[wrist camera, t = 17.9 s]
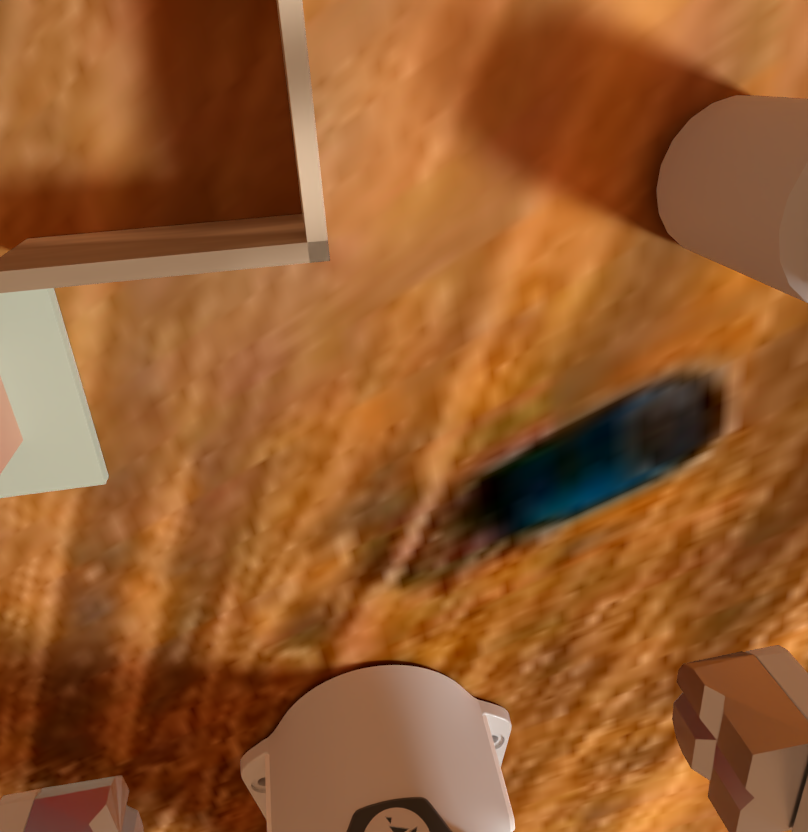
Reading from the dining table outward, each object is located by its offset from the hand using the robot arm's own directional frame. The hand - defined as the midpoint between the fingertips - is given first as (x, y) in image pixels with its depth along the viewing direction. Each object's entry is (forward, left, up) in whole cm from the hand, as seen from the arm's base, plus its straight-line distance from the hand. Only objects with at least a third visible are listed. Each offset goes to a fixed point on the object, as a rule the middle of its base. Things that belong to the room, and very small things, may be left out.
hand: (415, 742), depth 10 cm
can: (+3, -20, -27) cm, 34 cm away
